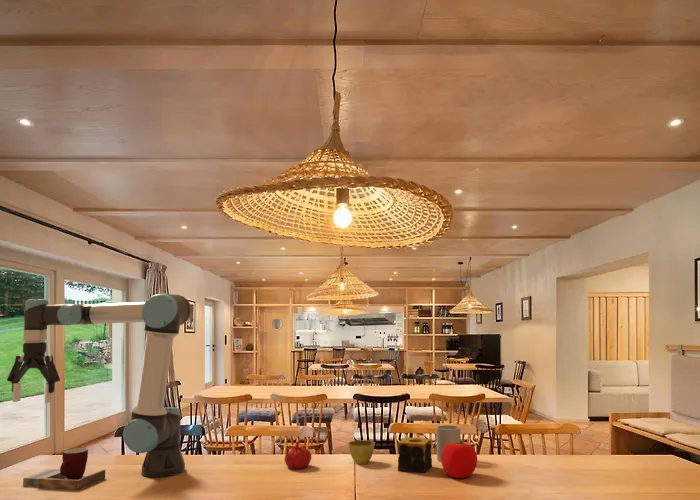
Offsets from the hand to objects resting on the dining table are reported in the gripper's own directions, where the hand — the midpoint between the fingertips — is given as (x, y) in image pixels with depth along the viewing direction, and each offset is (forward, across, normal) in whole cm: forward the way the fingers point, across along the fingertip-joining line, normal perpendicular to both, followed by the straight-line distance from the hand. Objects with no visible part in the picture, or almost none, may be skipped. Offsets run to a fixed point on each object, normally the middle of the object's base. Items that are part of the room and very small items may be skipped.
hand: (32, 402), depth 212 cm
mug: (+27, -17, -1) cm, 32 cm away
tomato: (+26, -148, -29) cm, 153 cm away
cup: (+26, -143, -51) cm, 154 cm away
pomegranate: (+26, -89, -32) cm, 98 cm away
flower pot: (+26, -111, -42) cm, 122 cm away
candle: (+26, -132, -36) cm, 139 cm away
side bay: (+27, -14, 0) cm, 31 cm away
